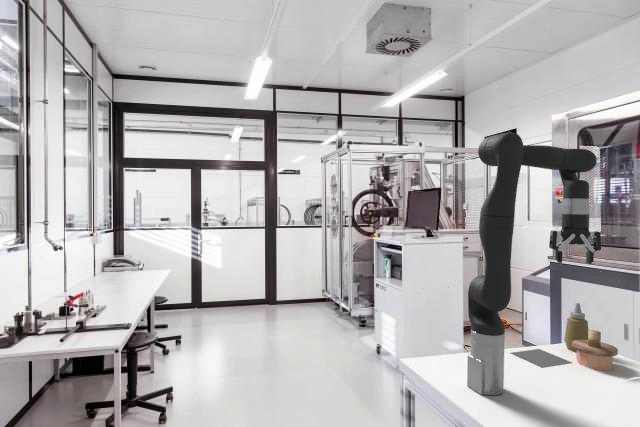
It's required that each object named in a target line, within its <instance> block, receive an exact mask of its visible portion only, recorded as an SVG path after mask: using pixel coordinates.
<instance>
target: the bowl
mask: <svg viewBox="0 0 640 427" xmlns="http://www.w3.org/2000/svg"><path fill="white" fill-rule="evenodd" d="M575 353H576V359H575V360H576V362H577V363H578V365H580V366H582V367H585V368H588V369H593V370H597V371H610V370H612V369H613V362H614V360H613V358H614V356H612V357H604V356H596V355H591V354H586V353H583V352H580V351H578V350H577V351H576V352H575Z"/></svg>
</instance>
